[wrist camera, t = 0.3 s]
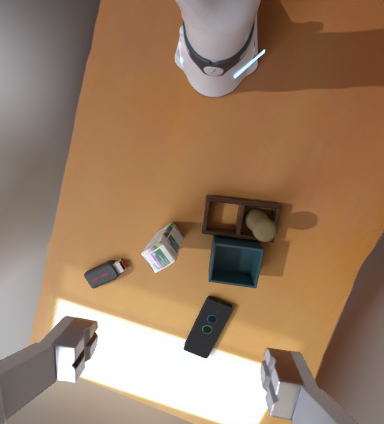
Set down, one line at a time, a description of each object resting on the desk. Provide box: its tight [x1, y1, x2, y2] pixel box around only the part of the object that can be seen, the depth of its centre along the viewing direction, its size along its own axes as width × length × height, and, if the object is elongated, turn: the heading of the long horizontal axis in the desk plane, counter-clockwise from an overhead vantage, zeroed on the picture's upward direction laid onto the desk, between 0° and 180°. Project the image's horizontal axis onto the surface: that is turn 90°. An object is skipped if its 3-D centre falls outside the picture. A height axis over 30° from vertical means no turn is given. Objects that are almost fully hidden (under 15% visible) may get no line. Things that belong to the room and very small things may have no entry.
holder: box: [202, 195, 281, 243], centre depth 54 cm, size 10×19×3 cm, turn 84°
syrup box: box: [141, 222, 184, 273], centre depth 51 cm, size 6×6×14 cm
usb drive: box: [84, 259, 127, 288], centre depth 61 cm, size 5×12×3 cm, turn 117°
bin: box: [209, 235, 264, 288], centre depth 55 cm, size 11×12×7 cm
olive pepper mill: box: [244, 208, 277, 242], centre depth 50 cm, size 6×6×11 cm
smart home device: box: [184, 296, 233, 358], centre depth 63 cm, size 8×2×20 cm
